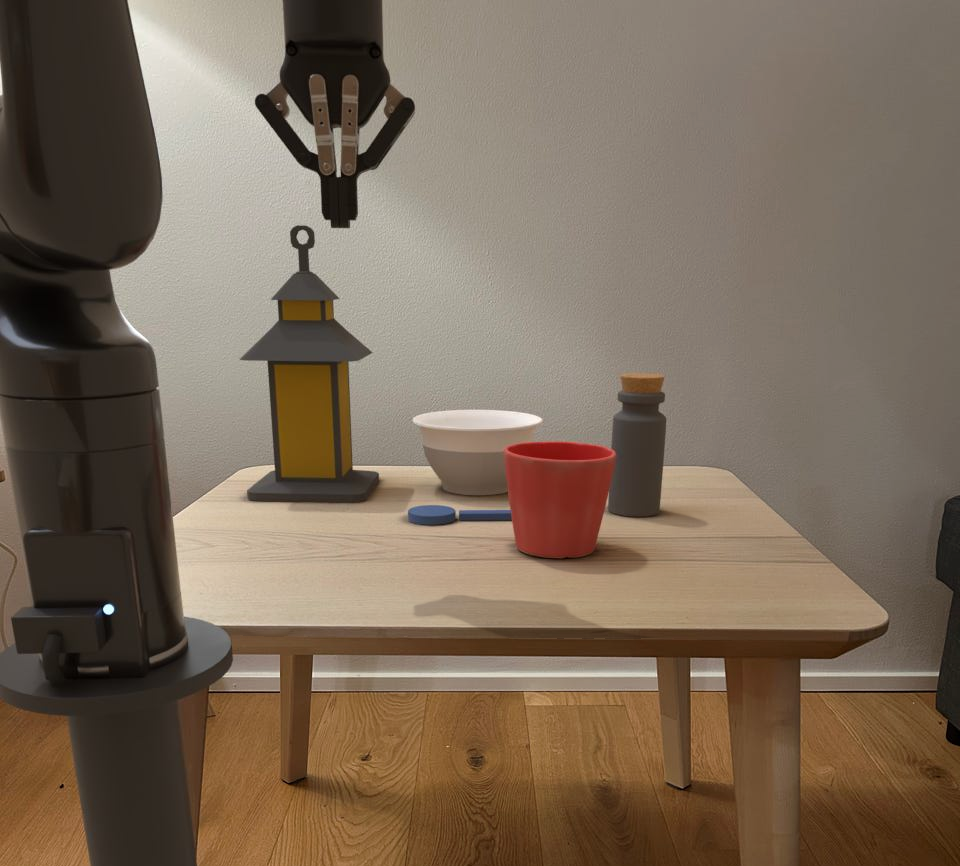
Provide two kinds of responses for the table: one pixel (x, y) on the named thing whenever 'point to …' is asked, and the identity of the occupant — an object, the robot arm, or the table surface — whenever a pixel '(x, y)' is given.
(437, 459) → the bowl
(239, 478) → the table surface
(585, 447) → the flower pot
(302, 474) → the lantern
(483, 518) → the spoon
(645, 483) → the bottle
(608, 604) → the table surface
